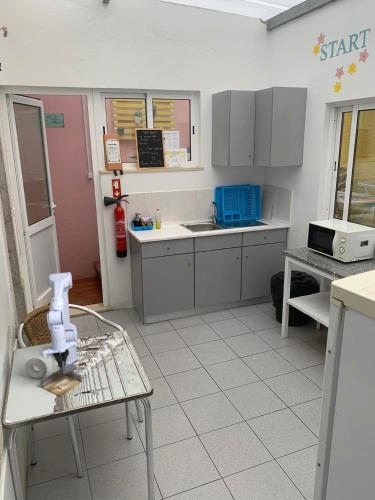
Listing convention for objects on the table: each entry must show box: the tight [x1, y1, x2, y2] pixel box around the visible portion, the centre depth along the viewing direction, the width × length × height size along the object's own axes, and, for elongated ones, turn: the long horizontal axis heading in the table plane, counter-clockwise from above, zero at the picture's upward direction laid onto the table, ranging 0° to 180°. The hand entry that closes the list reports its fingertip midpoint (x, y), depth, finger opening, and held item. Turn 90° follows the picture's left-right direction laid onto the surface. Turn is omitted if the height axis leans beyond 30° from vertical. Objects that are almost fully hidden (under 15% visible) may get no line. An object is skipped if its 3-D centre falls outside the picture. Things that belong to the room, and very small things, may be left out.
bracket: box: [59, 358, 78, 374], centre depth 167 cm, size 6×4×6 cm, turn 128°
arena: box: [40, 369, 83, 397], centre depth 168 cm, size 12×12×4 cm
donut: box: [24, 357, 48, 379], centre depth 173 cm, size 10×4×10 cm, turn 81°
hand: (62, 366), depth 166 cm, fingers closed on bracket
